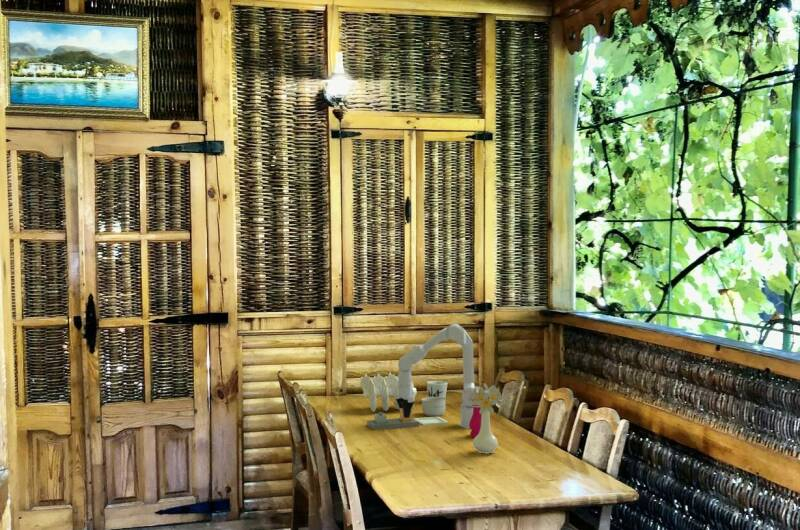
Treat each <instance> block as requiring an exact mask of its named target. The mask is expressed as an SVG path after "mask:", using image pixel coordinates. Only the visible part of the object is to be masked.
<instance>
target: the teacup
mask: <svg viewBox="0 0 800 530" xmlns="http://www.w3.org/2000/svg"><path fill="white" fill-rule="evenodd" d="M421 406H422V408H421V409H422V412H423V414H424V415H426V416H427V417H440V416H441V417H442V415H443V414H444V413H446V397H445V398H444V397H428V396H427V397H423V398H421Z"/></svg>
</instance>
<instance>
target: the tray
mask: <svg viewBox="0 0 800 530" xmlns="http://www.w3.org/2000/svg"><path fill="white" fill-rule="evenodd" d="M413 419H415V420H417V421H418V422H419V425H420V426H423V427H424V426H436V425H437V426H439V425H448V424H449V421H447V420H445V419H443V418H441V417H440V416H427V417H417V418H416V417H415V418H413Z"/></svg>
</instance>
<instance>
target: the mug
mask: <svg viewBox="0 0 800 530" xmlns="http://www.w3.org/2000/svg"><path fill="white" fill-rule="evenodd" d="M425 383H426V392H427V397H444V398H445V399H446V397H447V388H448V383H449V382H447V381H444V380H431V381H430V380H429V381H426V382H425Z"/></svg>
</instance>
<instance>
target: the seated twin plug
mask: <svg viewBox="0 0 800 530" xmlns="http://www.w3.org/2000/svg"><path fill="white" fill-rule="evenodd" d="M387 419H388V418H387V415H386V414H385V413H383V412H382V411H380V412H378V413H375V414H374V420H375V423H376V424H380V423H387Z"/></svg>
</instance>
